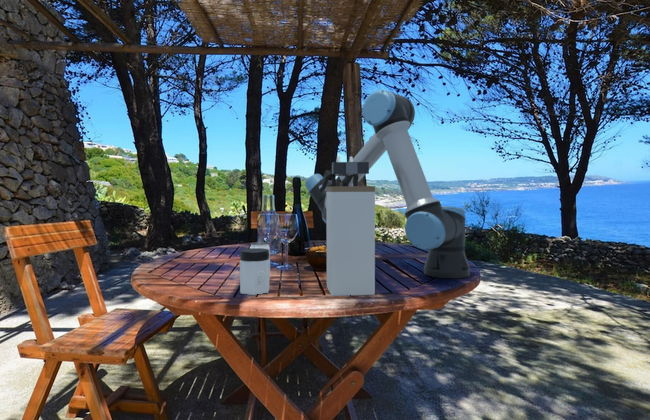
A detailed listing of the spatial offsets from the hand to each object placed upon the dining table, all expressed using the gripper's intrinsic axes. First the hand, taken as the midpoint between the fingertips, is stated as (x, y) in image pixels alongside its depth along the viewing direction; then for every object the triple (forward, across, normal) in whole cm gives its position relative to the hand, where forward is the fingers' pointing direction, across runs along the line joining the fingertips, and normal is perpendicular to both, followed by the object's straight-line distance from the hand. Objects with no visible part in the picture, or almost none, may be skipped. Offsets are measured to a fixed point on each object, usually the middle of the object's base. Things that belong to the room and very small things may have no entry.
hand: (345, 160), depth 130 cm
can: (-28, +26, -28) cm, 47 cm away
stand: (-13, 0, -36) cm, 39 cm away
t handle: (-1, 0, -4) cm, 5 cm away
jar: (-14, +27, -36) cm, 47 cm away
